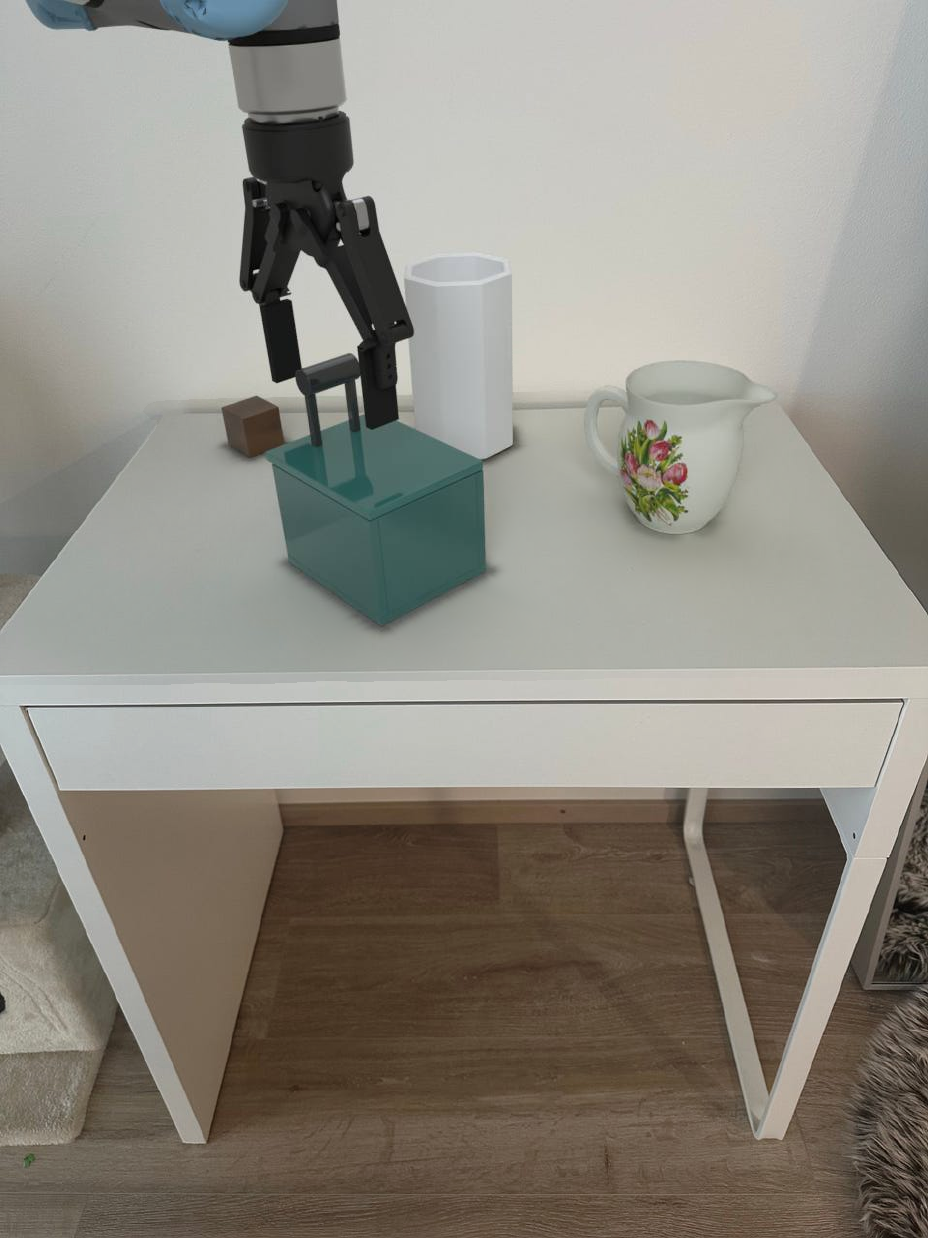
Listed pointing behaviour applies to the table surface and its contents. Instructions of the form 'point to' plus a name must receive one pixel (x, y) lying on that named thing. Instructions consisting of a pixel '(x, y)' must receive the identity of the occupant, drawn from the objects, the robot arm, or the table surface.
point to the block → (253, 426)
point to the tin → (385, 544)
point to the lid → (366, 451)
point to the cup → (462, 350)
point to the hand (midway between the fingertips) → (332, 399)
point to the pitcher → (677, 439)
